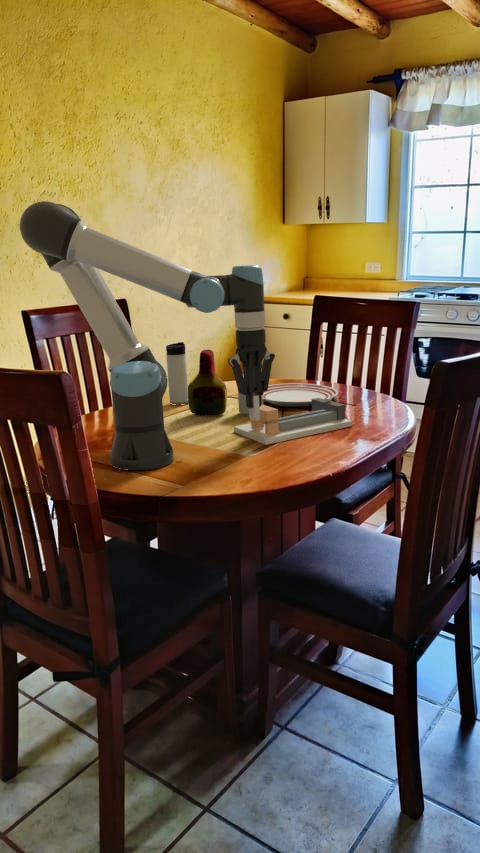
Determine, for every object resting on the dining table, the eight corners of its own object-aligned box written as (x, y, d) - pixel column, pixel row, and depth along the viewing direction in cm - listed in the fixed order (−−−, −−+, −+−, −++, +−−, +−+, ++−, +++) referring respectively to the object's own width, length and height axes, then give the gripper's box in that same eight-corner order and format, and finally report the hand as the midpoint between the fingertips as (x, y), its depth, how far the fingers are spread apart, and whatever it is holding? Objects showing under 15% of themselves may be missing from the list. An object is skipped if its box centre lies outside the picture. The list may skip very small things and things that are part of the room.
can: (261, 416, 199) (259, 377, 196) (236, 416, 201) (234, 377, 198) (265, 410, 206) (264, 372, 203) (241, 410, 208) (239, 372, 205)
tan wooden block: (267, 434, 173) (266, 411, 171) (251, 428, 179) (250, 406, 178) (278, 432, 174) (277, 409, 173) (262, 426, 181) (261, 404, 179)
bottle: (230, 412, 206) (226, 348, 201) (224, 417, 200) (221, 351, 195) (192, 412, 208) (188, 348, 203) (186, 417, 202) (182, 351, 197)
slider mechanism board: (265, 444, 170) (265, 420, 169) (234, 431, 184) (232, 408, 182) (352, 426, 184) (352, 403, 183) (316, 415, 198) (316, 393, 196)
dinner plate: (350, 395, 223) (350, 385, 222) (316, 413, 201) (315, 402, 200) (278, 389, 237) (278, 380, 236) (238, 406, 215) (237, 396, 214)
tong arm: (276, 428, 178) (275, 420, 177) (272, 427, 179) (272, 419, 179) (326, 418, 186) (326, 410, 186) (323, 417, 188) (323, 409, 187)
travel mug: (193, 402, 222) (189, 342, 217) (181, 406, 216) (177, 345, 211) (178, 401, 225) (174, 341, 220) (166, 405, 220) (161, 344, 215)
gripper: (264, 324, 173) (267, 412, 179) (220, 330, 167) (225, 421, 173) (280, 326, 167) (283, 418, 173) (235, 332, 161) (240, 426, 167)
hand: (254, 419), depth 173 cm, fingers closed
